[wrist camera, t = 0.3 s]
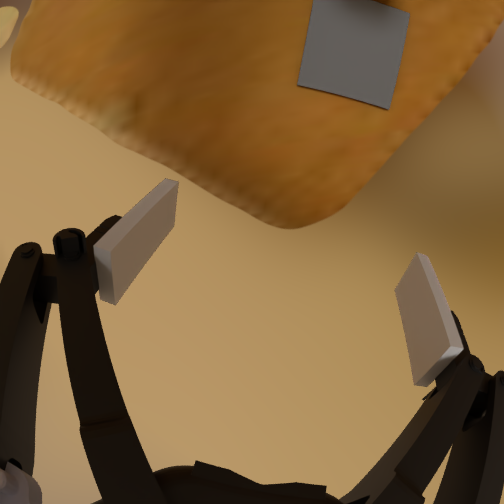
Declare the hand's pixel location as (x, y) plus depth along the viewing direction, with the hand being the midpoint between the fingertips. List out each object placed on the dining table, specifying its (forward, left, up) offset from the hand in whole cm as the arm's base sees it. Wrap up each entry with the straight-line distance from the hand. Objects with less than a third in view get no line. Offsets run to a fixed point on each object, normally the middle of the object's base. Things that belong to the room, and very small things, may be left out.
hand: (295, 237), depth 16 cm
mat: (-13, +4, -28) cm, 31 cm away
